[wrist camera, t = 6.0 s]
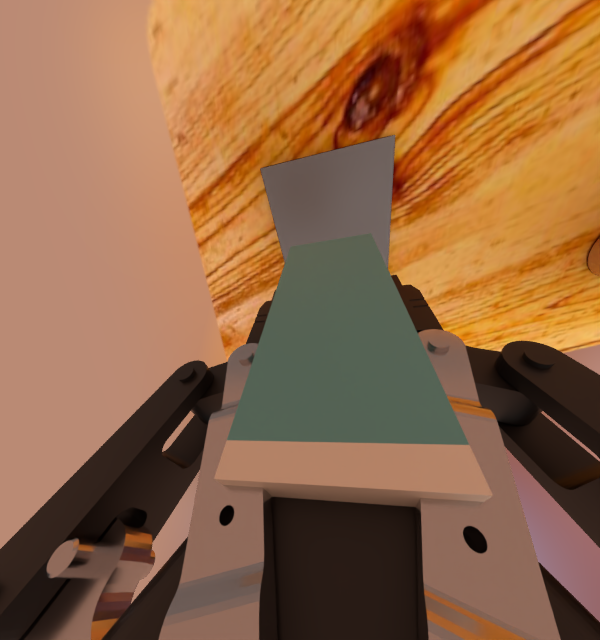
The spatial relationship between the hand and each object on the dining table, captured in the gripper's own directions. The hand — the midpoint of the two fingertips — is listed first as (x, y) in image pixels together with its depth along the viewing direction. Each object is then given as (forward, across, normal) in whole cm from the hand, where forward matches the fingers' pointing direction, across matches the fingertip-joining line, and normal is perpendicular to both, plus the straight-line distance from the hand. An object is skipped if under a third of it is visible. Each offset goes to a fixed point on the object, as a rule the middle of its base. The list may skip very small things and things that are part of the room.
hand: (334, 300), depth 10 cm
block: (+2, 0, 0) cm, 2 cm away
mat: (+16, 0, +2) cm, 16 cm away
